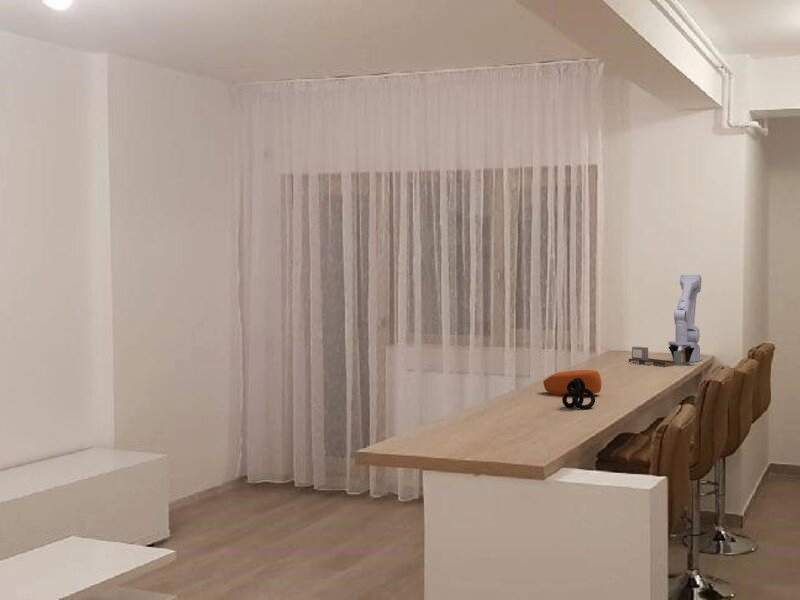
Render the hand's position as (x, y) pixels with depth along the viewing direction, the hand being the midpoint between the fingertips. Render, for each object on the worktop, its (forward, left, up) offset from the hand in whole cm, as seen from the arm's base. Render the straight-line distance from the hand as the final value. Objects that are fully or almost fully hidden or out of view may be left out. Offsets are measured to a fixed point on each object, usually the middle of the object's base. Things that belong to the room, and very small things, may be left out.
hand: (681, 361), depth 540 cm
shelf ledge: (+9, -12, -2) cm, 15 cm away
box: (+8, -19, -1) cm, 21 cm away
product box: (0, 0, -2) cm, 2 cm away
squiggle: (+128, +48, -2) cm, 137 cm away
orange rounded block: (+106, +24, -2) cm, 109 cm away
